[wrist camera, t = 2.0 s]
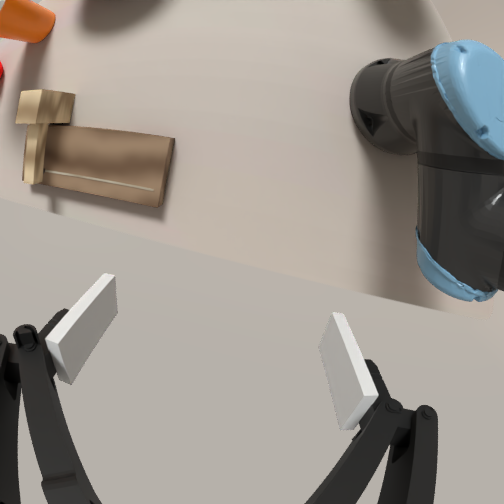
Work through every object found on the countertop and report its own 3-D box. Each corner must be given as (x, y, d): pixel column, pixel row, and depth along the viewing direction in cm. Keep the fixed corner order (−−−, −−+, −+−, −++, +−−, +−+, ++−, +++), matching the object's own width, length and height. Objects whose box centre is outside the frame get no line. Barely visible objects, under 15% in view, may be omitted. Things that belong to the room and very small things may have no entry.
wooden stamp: (54, 94, 33) (21, 91, 25) (75, 94, 34) (42, 89, 25) (42, 174, 39) (10, 184, 30) (62, 178, 39) (29, 188, 31)
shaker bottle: (56, 37, 29) (-19, 14, 10) (23, 54, 29) (-49, 43, 10) (62, 1, 25) (-3, -30, 7) (29, 19, 26) (-36, 0, 7)
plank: (35, 124, 35) (27, 124, 33) (174, 138, 37) (170, 138, 35) (30, 178, 39) (21, 180, 36) (162, 204, 41) (157, 207, 39)
